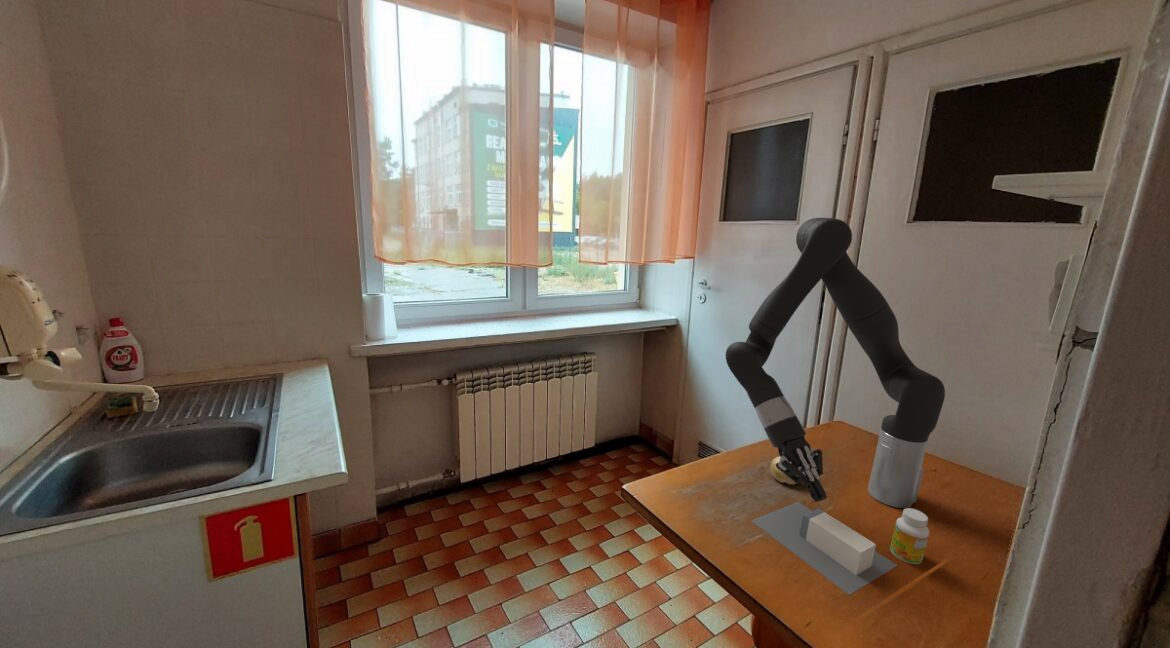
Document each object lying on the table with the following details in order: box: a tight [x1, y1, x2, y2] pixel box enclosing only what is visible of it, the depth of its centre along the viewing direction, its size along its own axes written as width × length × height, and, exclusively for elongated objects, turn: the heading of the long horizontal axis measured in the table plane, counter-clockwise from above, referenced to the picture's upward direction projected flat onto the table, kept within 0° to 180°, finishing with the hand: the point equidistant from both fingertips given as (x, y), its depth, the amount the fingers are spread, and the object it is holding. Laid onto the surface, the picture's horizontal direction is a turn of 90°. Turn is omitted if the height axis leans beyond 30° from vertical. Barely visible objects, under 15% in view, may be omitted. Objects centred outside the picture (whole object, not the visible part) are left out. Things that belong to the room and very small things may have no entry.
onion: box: [769, 455, 803, 486], centre depth 114 cm, size 8×8×7 cm
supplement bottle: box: [889, 507, 930, 565], centre depth 88 cm, size 5×5×10 cm
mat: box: [750, 501, 898, 596], centre depth 91 cm, size 22×16×1 cm
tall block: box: [800, 507, 877, 575], centre depth 88 cm, size 5×5×12 cm
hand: (821, 500), depth 91 cm, fingers closed
